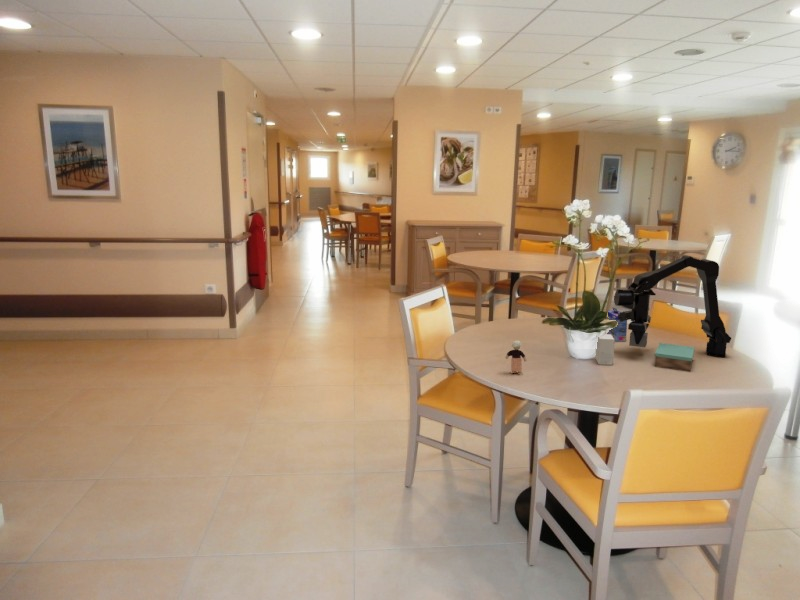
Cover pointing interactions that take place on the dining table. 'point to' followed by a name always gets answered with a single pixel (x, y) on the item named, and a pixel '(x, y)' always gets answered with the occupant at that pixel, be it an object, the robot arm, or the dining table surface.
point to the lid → (675, 351)
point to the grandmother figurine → (516, 357)
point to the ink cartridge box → (621, 328)
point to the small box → (605, 350)
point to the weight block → (642, 342)
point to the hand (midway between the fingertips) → (638, 342)
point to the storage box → (673, 363)
